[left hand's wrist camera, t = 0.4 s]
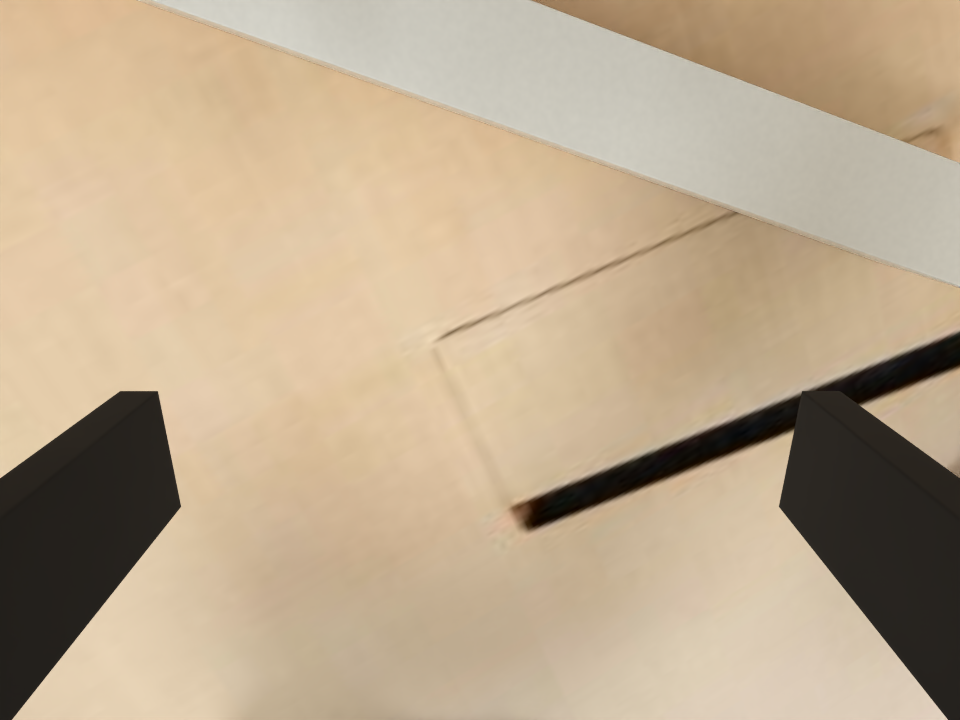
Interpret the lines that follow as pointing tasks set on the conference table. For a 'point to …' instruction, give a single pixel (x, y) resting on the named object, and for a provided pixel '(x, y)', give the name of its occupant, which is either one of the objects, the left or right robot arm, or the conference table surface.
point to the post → (630, 114)
